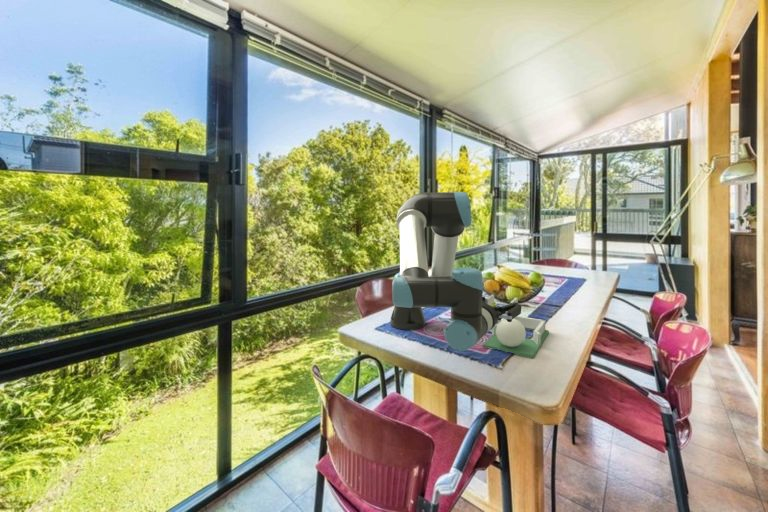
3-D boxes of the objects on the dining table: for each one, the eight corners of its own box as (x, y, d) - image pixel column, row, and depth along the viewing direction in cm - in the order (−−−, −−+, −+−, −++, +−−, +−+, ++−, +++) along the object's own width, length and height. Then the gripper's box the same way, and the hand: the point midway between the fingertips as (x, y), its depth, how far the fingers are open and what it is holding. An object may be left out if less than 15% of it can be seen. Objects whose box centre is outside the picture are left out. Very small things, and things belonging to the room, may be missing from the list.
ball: (491, 347, 121) (492, 320, 119) (500, 338, 129) (501, 312, 127) (521, 354, 115) (522, 325, 113) (528, 344, 123) (529, 317, 121)
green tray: (482, 346, 124) (482, 333, 123) (504, 324, 146) (505, 313, 145) (533, 358, 114) (534, 344, 113) (549, 332, 136) (549, 320, 135)
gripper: (446, 326, 99) (475, 306, 118) (516, 340, 88) (536, 316, 107) (446, 301, 98) (475, 285, 117) (517, 312, 87) (537, 293, 105)
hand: (504, 300), depth 112 cm, fingers open, 7 cm apart
